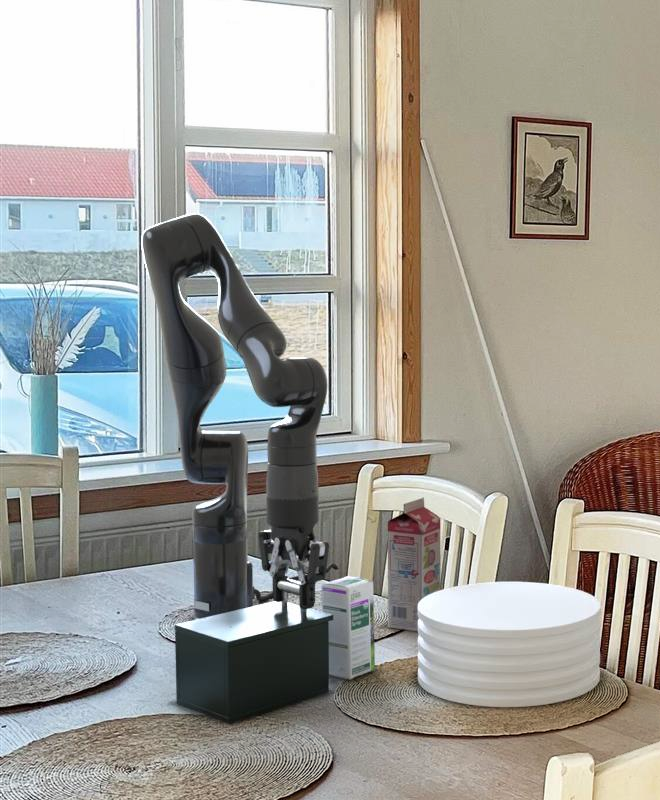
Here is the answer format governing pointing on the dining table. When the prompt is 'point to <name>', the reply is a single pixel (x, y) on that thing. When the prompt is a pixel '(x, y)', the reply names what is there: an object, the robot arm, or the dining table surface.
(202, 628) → the bin lid
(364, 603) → the syrup box
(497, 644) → the plate stack
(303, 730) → the dining table surface
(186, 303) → the robot arm
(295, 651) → the bin
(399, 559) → the juice carton
